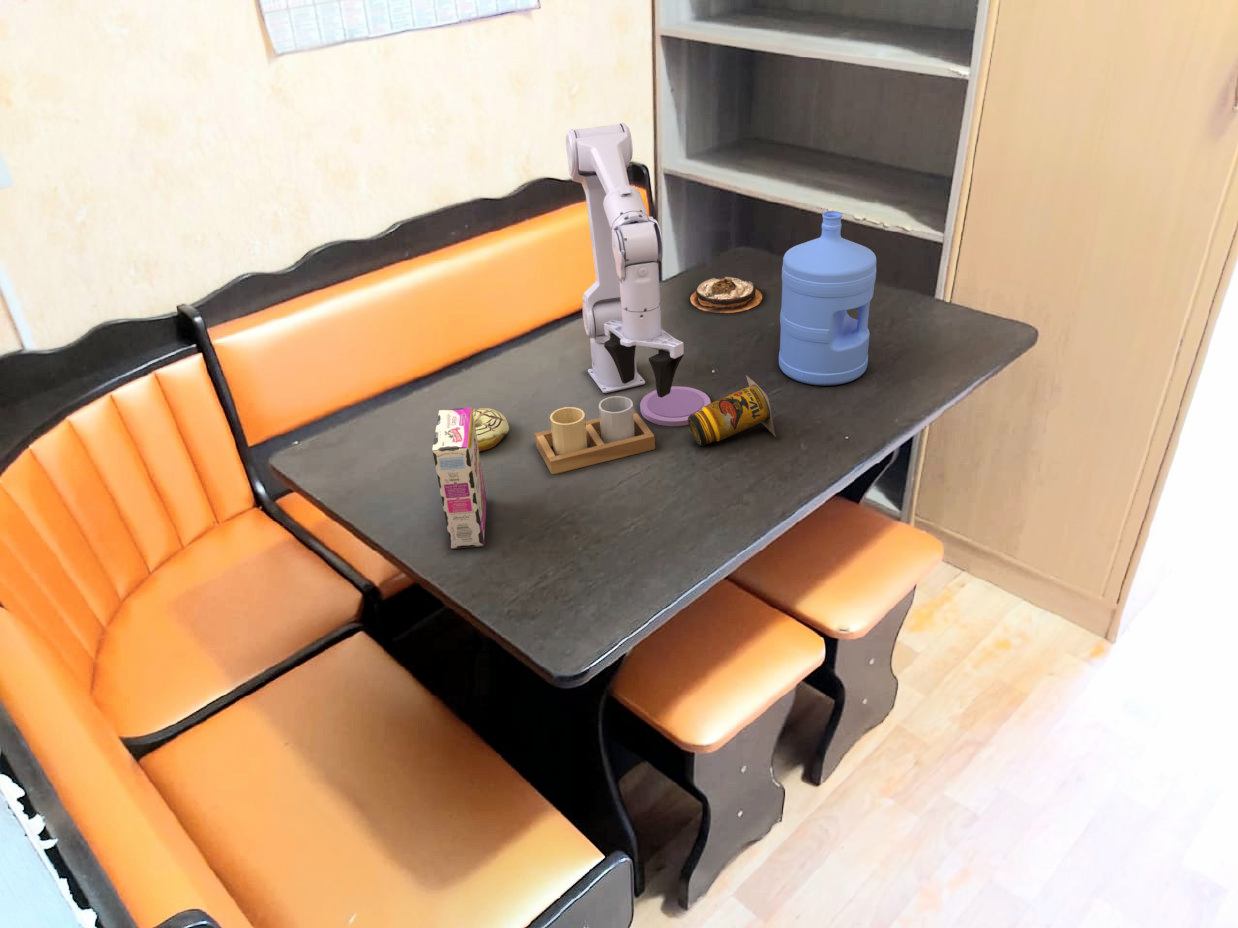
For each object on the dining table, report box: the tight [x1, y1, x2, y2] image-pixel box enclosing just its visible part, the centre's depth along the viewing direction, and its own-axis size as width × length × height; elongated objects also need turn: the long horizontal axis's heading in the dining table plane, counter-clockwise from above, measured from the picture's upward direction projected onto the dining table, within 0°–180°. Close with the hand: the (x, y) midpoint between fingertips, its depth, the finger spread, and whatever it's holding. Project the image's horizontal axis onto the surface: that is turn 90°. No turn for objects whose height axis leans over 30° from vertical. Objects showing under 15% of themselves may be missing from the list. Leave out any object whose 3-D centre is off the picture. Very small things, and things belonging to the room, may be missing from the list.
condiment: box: [688, 374, 777, 447], centre depth 146 cm, size 7×8×12 cm
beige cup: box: [549, 406, 589, 456], centre depth 145 cm, size 5×5×7 cm
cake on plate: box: [690, 276, 763, 314], centre depth 193 cm, size 15×15×4 cm
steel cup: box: [598, 395, 636, 444], centre depth 147 cm, size 5×5×7 cm
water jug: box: [778, 210, 877, 387], centre depth 158 cm, size 16×16×28 cm
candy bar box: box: [431, 407, 488, 550], centre depth 128 cm, size 11×5×16 cm, turn 5°
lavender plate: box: [639, 385, 712, 427], centre depth 156 cm, size 12×12×1 cm
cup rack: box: [534, 409, 656, 475], centre depth 147 cm, size 9×17×2 cm, turn 110°
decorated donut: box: [472, 407, 510, 452], centre depth 151 cm, size 10×11×4 cm
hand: (645, 387), depth 142 cm, fingers open, 7 cm apart
